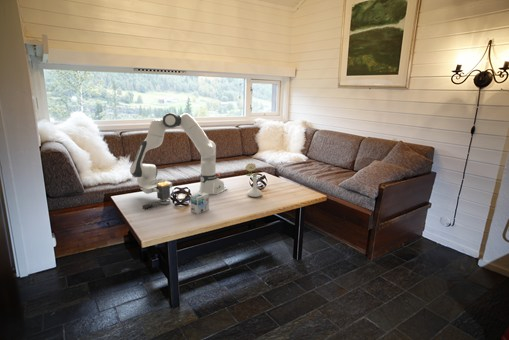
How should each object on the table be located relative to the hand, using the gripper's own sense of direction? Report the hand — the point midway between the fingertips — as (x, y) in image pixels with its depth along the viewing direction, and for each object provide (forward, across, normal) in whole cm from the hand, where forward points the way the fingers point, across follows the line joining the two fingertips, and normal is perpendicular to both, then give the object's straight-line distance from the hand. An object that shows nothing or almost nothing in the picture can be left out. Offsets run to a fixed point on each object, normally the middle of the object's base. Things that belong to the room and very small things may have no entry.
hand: (164, 189), depth 204 cm
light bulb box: (+26, +9, +10) cm, 29 cm away
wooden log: (-1, 0, +6) cm, 6 cm away
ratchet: (-1, -5, +10) cm, 11 cm away
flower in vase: (+32, +55, +10) cm, 65 cm away
